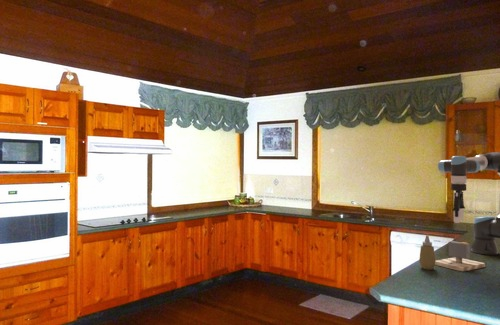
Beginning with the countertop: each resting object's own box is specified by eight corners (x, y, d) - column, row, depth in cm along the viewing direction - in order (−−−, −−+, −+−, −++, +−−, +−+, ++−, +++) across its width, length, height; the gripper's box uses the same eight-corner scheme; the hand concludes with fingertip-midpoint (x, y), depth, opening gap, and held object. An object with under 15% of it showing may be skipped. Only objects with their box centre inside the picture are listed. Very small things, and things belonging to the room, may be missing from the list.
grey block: (448, 255, 224) (448, 240, 224) (452, 255, 226) (452, 240, 226) (466, 259, 216) (466, 243, 216) (469, 258, 218) (469, 242, 218)
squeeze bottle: (426, 270, 210) (426, 236, 210) (415, 267, 217) (415, 234, 217) (438, 269, 212) (438, 236, 212) (428, 266, 219) (428, 233, 220)
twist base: (456, 260, 233) (456, 252, 233) (484, 266, 218) (484, 258, 218) (433, 264, 223) (433, 256, 223) (462, 271, 208) (462, 262, 208)
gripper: (462, 184, 209) (463, 224, 209) (469, 182, 229) (469, 219, 229) (447, 184, 214) (447, 223, 213) (454, 182, 234) (455, 218, 234)
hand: (458, 221), depth 221 cm, fingers open, 13 cm apart
